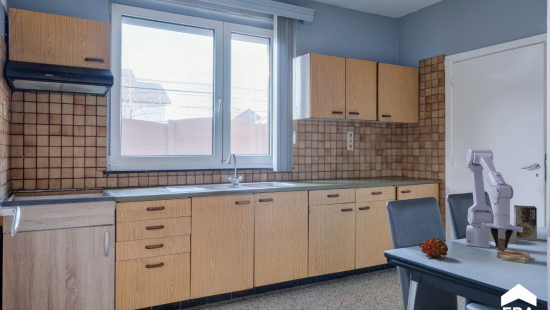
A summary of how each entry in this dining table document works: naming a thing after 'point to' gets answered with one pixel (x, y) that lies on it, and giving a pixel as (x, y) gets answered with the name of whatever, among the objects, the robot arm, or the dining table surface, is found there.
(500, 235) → the lumpy-topped squat cylinder
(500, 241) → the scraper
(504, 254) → the tile
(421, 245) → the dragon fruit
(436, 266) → the dining table surface
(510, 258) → the tile holder
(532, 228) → the coffee box
